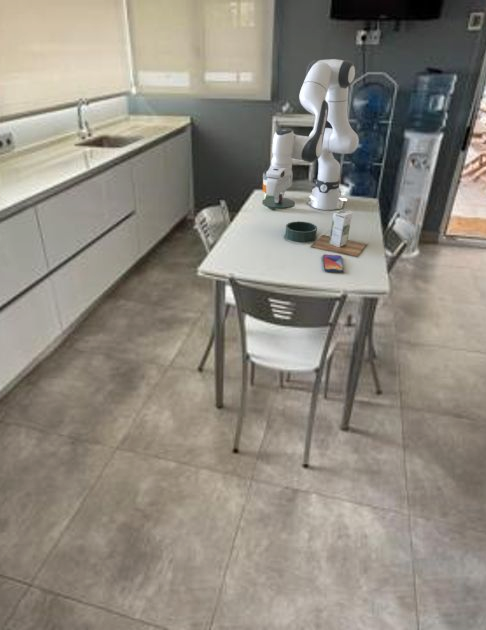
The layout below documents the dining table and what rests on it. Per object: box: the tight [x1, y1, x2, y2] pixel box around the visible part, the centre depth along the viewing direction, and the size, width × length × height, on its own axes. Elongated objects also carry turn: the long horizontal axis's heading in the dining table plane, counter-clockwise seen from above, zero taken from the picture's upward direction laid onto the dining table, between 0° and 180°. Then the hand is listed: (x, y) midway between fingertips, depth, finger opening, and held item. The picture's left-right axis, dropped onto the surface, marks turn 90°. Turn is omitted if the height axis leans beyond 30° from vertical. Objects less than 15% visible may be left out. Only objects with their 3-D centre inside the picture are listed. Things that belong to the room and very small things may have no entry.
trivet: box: [311, 234, 367, 258], centre depth 195 cm, size 15×20×1 cm
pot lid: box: [261, 194, 296, 210], centre depth 199 cm, size 15×15×5 cm
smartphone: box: [322, 253, 345, 273], centre depth 178 cm, size 7×15×1 cm, turn 171°
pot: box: [284, 220, 318, 244], centre depth 201 cm, size 14×14×5 cm
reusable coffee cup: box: [262, 170, 268, 200], centre depth 245 cm, size 13×13×15 cm
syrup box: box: [329, 209, 353, 248], centre depth 191 cm, size 6×6×14 cm
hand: (278, 201), depth 199 cm, fingers closed on pot lid, 2 cm apart
